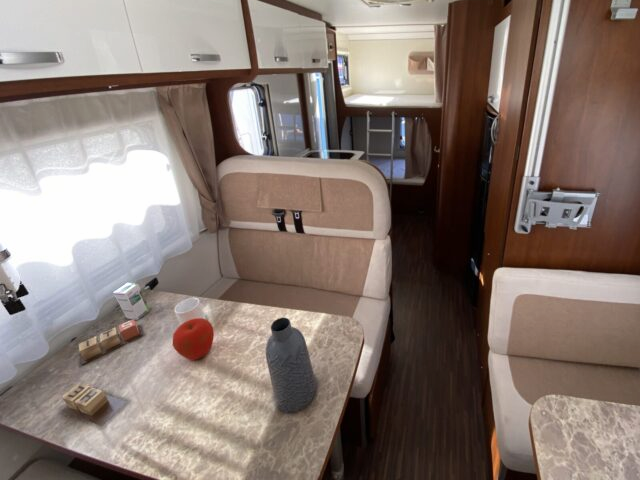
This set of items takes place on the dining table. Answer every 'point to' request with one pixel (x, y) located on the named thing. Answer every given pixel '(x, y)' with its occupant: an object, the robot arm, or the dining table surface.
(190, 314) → the mug
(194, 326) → the apple
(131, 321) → the block
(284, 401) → the vase
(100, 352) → the board
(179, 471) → the dining table surface
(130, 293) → the syrup box
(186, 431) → the dining table surface
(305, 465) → the dining table surface
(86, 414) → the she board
